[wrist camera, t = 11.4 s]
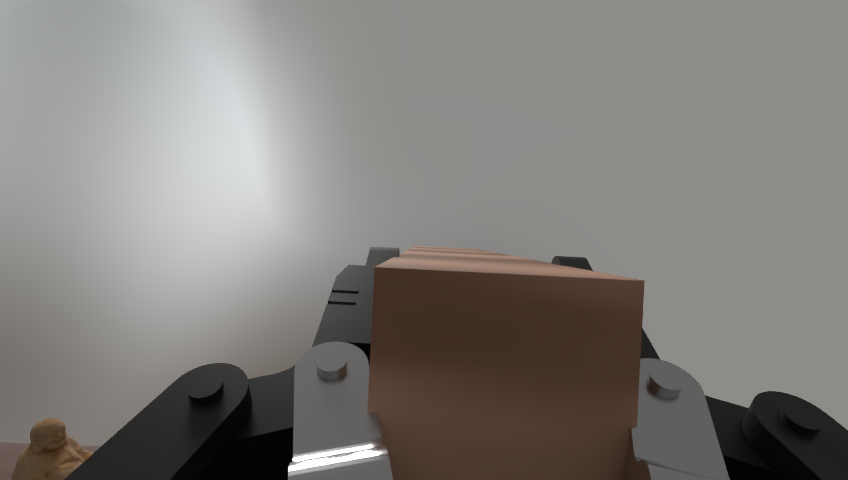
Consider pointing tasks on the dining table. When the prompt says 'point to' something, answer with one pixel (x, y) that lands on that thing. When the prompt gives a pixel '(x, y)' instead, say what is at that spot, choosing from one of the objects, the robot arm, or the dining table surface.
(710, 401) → the robot arm
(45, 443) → the statue
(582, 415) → the block
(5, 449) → the dining table surface
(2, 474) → the dining table surface
